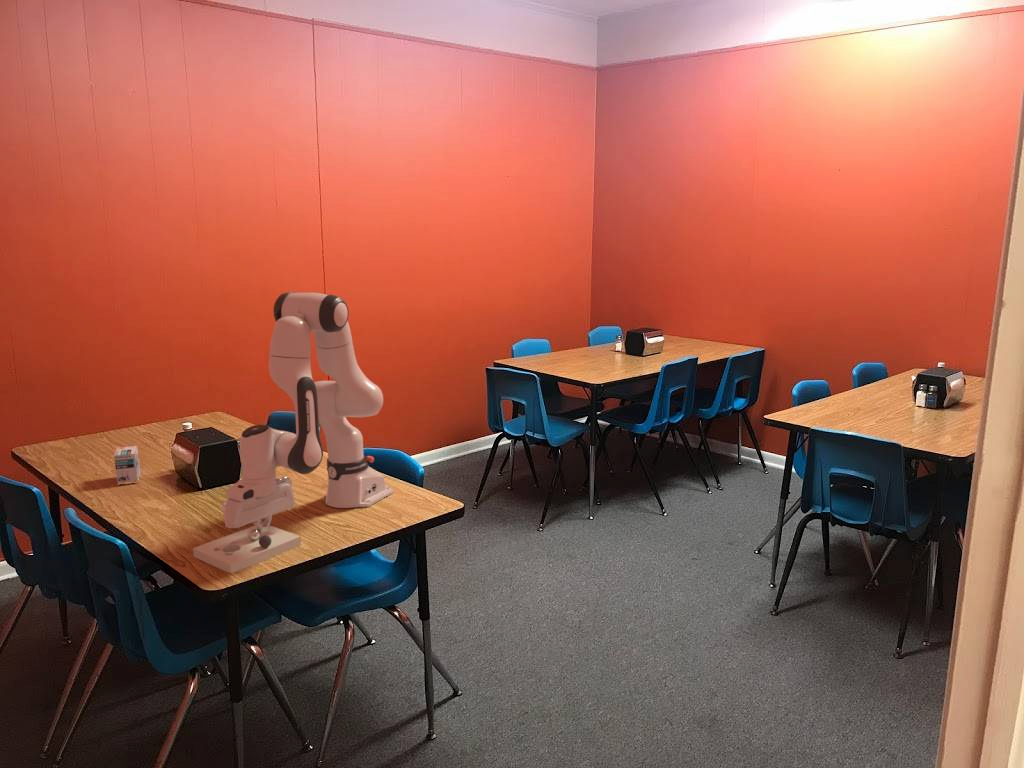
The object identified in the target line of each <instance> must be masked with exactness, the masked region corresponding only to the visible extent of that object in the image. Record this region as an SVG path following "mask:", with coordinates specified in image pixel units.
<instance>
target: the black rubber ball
mask: <svg viewBox="0 0 1024 768" xmlns="http://www.w3.org/2000/svg"><path fill="white" fill-rule="evenodd" d="M259 544H260V546H261V547H268V546H269V545H270V544H271V538H270V537H269V536H267V535H264V536H262V537H261V538H260V539H259Z"/></svg>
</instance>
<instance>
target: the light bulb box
mask: <svg viewBox="0 0 1024 768" xmlns="http://www.w3.org/2000/svg"><path fill="white" fill-rule="evenodd" d="M113 458H114V467H115V468H114V469H115V474H116V482H117V483H125V482H136V481H138V480H139V481H140V479H139V476H140V477H141V475H140V474H141V466H140V459H139V450H138V445H132V446H121V447H120V446H118V447H116V449H115V452H114V455H113Z"/></svg>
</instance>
